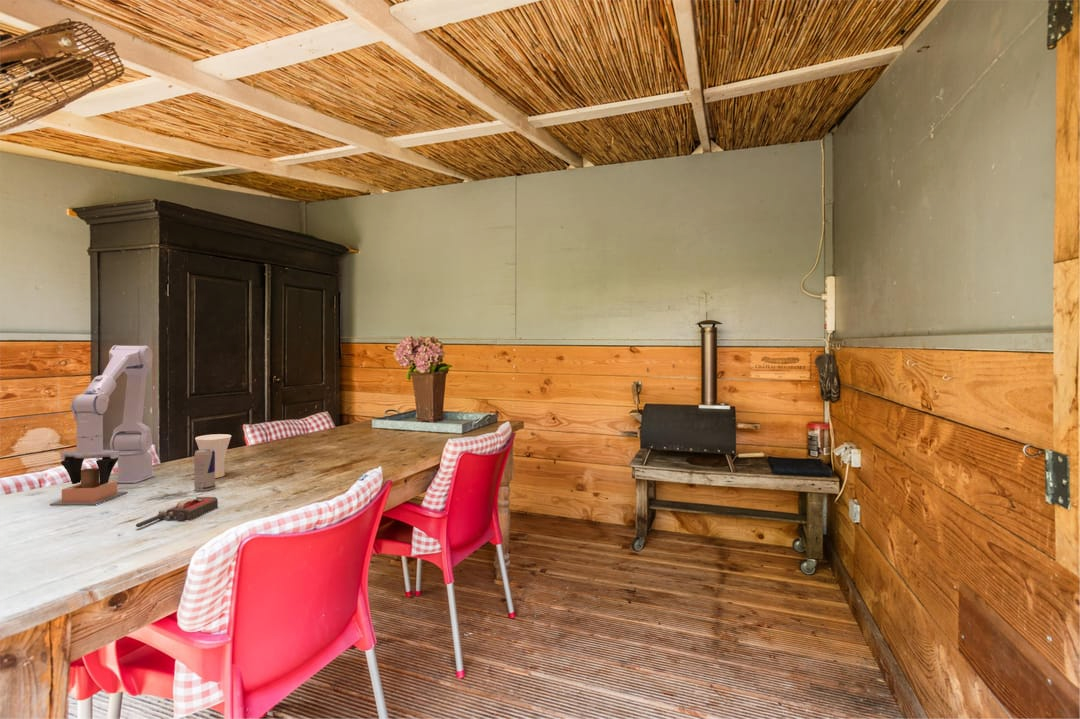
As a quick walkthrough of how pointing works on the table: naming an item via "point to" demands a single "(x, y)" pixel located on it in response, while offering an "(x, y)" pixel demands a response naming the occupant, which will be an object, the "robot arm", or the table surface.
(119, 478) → the robot arm
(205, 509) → the walkie-talkie
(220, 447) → the cup
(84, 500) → the socket
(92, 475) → the walnut peg
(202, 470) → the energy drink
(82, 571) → the table surface
